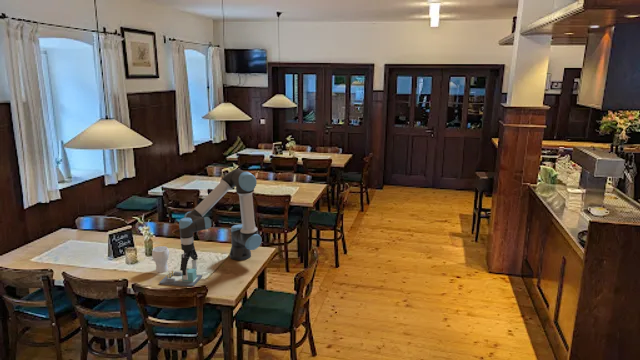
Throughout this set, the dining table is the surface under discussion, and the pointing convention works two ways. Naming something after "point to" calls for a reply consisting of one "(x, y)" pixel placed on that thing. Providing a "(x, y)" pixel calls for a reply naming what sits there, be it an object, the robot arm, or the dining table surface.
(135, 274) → the dining table surface
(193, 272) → the plug block
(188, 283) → the header board
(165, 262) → the cup
